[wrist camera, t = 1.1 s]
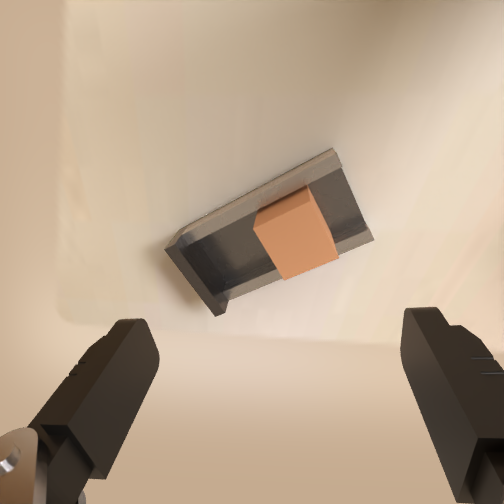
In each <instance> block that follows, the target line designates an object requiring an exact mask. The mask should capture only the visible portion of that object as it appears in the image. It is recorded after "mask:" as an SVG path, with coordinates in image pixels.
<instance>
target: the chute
mask: <svg viewBox="0 0 504 504" xmlns="http://www.w3.org/2000/svg"><path fill="white" fill-rule="evenodd" d="M341 167H342V165H341V162H340V160H339V158H338V155H337V153H336V152H335V151H334V149H333V148H331V149H329V150H328V151H326V152H324V153H322V154H320V155H318V156H316V157H315V158H313V159H311V160H309V161H307V162H305V163H303V164H301V165H300V166H298V167H296V168H294V169H292V170H290V171H288V172H286V173H285V174H283V175H281V176H279V177H277V178H275V179H273V180H272V181H270V182H268V183H266V184H264V185H262V186H260V187H258V188H257V189H255V190H253V191H251V192H249V193H247V194H245V195H244V196H242V197H240V198H238V199H236V200H234V201H232V202H230V203H229V204H227V205H225V206H223V207H221V208H219V209H217V210H215V211H214V212H212V213H210V214H208V215H206V216H204V217H202V218H201V219H199V220H197V221H195V222H193V223H191V224H189V225H187V226H186V227H184V228H182V229H180V230H179V231H178V232H177V234H176V235H175V236H174V238H173V239H172V240H171V241H170V243H169V244H168V245H167V247H166V248H165V249H164V250H165V251H166V253H167V254H168V255H169V256H170V258H171V259H172V260H173V262H174V263H175V264H176V266H177V267H178V268H179V270H180V271H181V272H182V274H183V275H184V276H185V278H186V279H187V280H188V281H189V283H190V284H191V285H192V287H193V288H194V289H195V291H196V292H197V293H198V295H199V296H200V297H201V299H202V300H203V301H204V303H205V304H206V305H207V307H208V308H209V309H210V310H211V312H212V313H213V314H214V316H215V317H216V316H218V315H221V314H223V313H225V312H226V308H227V304H228V301H229V300H231V299H234V298H236V297H238V296H241V295H243V294H246V293H248V292H251V291H253V290H255V289H258V288H260V287H263V286H265V285H267V284H270V283H272V282H275V281H277V280H279V279H282V276H281V274H280V273H279V271H278V269H277V268H276V266H275V264H274V263H273V261H272V259H271V258H270V256H269V254H268V253H267V251H266V249H265V248H264V246H263V245H262V243H261V241H260V240H259V238H258V236H257V235H256V233H255V231H254V230H253V227H254V223H255V219H256V215H257V211H258V209H260V208H262V207H264V206H266V205H268V204H270V203H272V202H274V201H276V200H278V199H280V198H282V197H284V196H286V195H288V194H290V193H292V192H294V191H295V190H297V189H299V188H301V187H303V186H305V185H308V187H309V189H310V191H311V193H312V195H313V197H314V199H315V201H316V203H317V205H318V207H319V209H320V211H321V213H322V215H323V217H324V219H325V221H326V223H327V225H328V228H329V230H330V232H331V234H332V237H333V240H334V244H335V247H336V250H337V253H338V255H340V254H342V253H345V252H347V251H349V250H352V249H354V248H357V247H359V246H361V245H364V244H366V243H369V242H371V241H373V240H374V238H373V236H372V234H371V231H370V229H369V228H368V226H367V224H366V223H365V221H364V219H363V216H362V214H361V212H360V209H359V207H358V205H357V203H356V200H355V198H354V196H353V193H352V191H351V189H350V186H349V184H348V182H347V180H346V177H345V175H344V173H343V170H342V168H341Z"/></svg>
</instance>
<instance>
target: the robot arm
mask: <svg viewBox="0 0 504 504" xmlns="http://www.w3.org/2000/svg"><path fill="white" fill-rule="evenodd" d="M400 351H401V359H402V364H403V368H404V371H405V373H406V376H407V378H408V381H409V383H410V386H411V389H412V391H413V393H414V396H415V399H416V401H417V404H418V406H419V409H420V411H421V414H422V416H423V419H424V421H425V424H426V426H427V429H428V432H429V434H430V437H431V439H432V442H433V444H434V447H435V449H436V452H437V454H438V457H439V459H440V462H441V464H442V467H443V469H444V472H445V475H446V477H447V479H448V482H449V484H450V487H451V490H452V492H453V495H454V497H455V500H456V502H457V503H471V504H504V370H503V369H502V367H501V366H500V365H499V363H498V362H497V361H496V360H494V358H493V355H492V354H491V353H490V351H489V350H488V349H487V347H486V346H485V345H484V343H483V342H482V341H481V339H479V338H478V337H477V336H475V335H474V334H472V333H471V332H470V331H468V330H467V329H466V328H464V327H463V326H461V325H453V326H450V325H449V324H448V322H447V321H446V319H445V318H444V316H443V315H442V313H441V312H440V310H439V309H438V308H437V307H420V308H406V309H405V311H404V318H403V328H402V337H401V347H400ZM158 367H159V352H158V349H157V347H156V344H155V342H154V339H153V337H152V334H151V332H150V329H149V327H148V324H147V322H146V321H145V320H144V319H142V318H140V319H120V320H118V321H117V322H116V323H115V324H114V326H113V327H112V328H111V330H110V331H109V332H108V334H107V335H106V336H103V337H102V338H100V339H99V340H98V341H97V342H96V343H94V344H93V345H92V346H91V347H89V349H88V350H87V351H86V352H85V354H84V355H83V356H82V357H81V359H80V360H79V361H78V365H75V366H74V368H73V369H72V370H71V371H70V373H69V376H68V377H66V378H65V379H64V380H63V382H62V383H61V384H60V386H59V387H58V388H57V390H56V391H55V392H54V393H53V395H52V396H51V397H50V399H49V400H48V401H47V402H46V404H45V405H44V406H43V407H42V409H41V410H40V411H39V413H38V414H37V415H36V416H35V418H34V419H33V420H32V422H31V423H30V424H29V425H28V426H27V428H19V429H16V430H13V431H11V432H8V433H6V434H5V435H3V436H1V437H0V504H86V497H85V493H84V491H83V488H84V486H85V484H86V483H87V481H88V479H106V478H107V476H108V473H109V472H110V469H111V467H112V465H113V463H114V461H115V459H116V457H117V455H118V453H119V450H120V448H121V446H122V444H123V442H124V440H125V438H126V436H127V434H128V431H129V429H130V427H131V425H132V423H133V421H134V419H135V417H136V415H137V413H138V410H139V408H140V406H141V404H142V402H143V400H144V398H145V396H146V394H147V391H148V389H149V387H150V385H151V383H152V381H153V379H154V377H155V375H156V372H157V370H158Z"/></svg>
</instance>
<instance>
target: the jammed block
mask: <svg viewBox="0 0 504 504" xmlns="http://www.w3.org/2000/svg"><path fill="white" fill-rule="evenodd" d="M253 230H254V231H255V233H256V235H257V236H258V238H259V240H260V241H261V243H262V245H263V246H264V248H265V249H266V251H267V253H268V254H269V256H270V258H271V259H272V261H273V263H274V264H275V266H276V268H277V269H278V271H279V273H280V274H281V276H282V278H283V279H284V280H287V279H289V278H291V277H294V276H296V275H299V274H301V273H304V272H306V271H308V270H311V269H313V268H316V267H318V266H321V265H323V264H325V263H328V262H330V261H333V260H335V259H338V258H339V256H338V253H337V250H336V247H335V244H334V240H333V237H332V234H331V232H330V230H329V228H328V225H327V223H326V221H325V219H324V217H323V215H322V213H321V211H320V209H319V207H318V205H317V203H316V201H315V199H314V197H313V195H312V193H311V191H310V189H309V187H308V185H305V186H303V187H301V188H299V189H297V190H295V191H294V192H292V193H290V194H288V195H286V196H284V197H282V198H280V199H278V200H276V201H274V202H272V203H270V204H268V205H266V206H264V207H262V208H260V209H258V211H257V215H256V219H255V223H254V227H253Z"/></svg>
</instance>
